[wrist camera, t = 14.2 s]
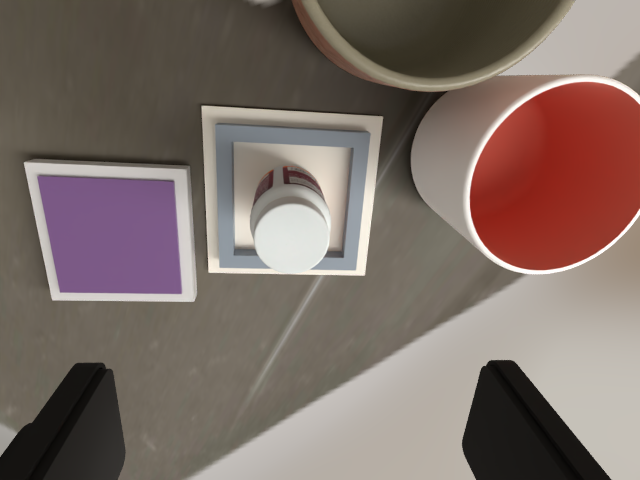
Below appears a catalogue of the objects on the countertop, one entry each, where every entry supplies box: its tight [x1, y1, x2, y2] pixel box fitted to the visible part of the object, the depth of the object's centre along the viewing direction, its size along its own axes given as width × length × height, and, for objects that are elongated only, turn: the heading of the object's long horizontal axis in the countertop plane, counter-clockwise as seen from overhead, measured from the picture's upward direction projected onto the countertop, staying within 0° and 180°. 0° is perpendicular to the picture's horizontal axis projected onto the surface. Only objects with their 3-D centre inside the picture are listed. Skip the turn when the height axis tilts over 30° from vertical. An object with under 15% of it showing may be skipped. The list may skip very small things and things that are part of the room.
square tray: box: [202, 105, 383, 275], centre depth 28 cm, size 12×12×2 cm
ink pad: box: [24, 159, 197, 302], centre depth 28 cm, size 10×10×2 cm
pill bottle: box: [250, 165, 331, 274], centre depth 25 cm, size 5×5×8 cm
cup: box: [411, 75, 640, 274], centre depth 24 cm, size 10×10×10 cm
